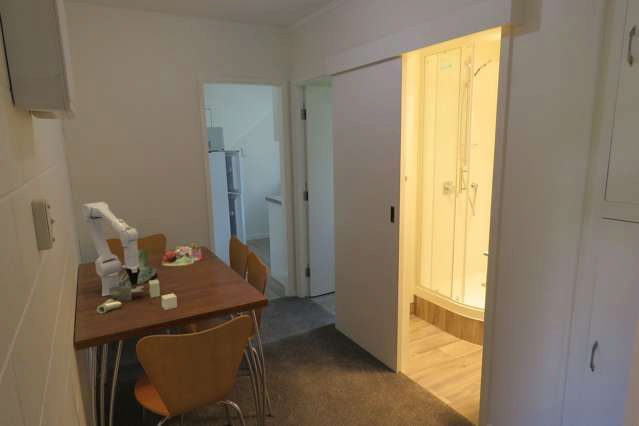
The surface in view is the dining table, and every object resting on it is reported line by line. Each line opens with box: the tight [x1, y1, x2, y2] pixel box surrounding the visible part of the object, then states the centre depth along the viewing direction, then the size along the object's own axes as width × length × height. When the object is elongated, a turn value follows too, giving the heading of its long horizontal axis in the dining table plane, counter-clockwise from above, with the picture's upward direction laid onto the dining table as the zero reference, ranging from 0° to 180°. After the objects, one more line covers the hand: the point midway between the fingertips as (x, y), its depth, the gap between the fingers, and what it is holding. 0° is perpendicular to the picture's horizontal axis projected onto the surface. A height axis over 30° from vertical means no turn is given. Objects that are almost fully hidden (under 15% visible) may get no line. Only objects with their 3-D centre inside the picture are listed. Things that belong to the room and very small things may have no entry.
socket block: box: [148, 279, 161, 298], centre depth 184 cm, size 6×4×6 cm, turn 29°
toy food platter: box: [161, 243, 203, 267], centre depth 243 cm, size 25×24×9 cm
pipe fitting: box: [96, 298, 122, 315], centre depth 167 cm, size 8×4×7 cm
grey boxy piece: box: [109, 285, 133, 304], centre depth 177 cm, size 5×8×6 cm, turn 119°
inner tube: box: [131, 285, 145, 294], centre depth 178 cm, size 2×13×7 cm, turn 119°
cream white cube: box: [160, 293, 178, 311], centre depth 169 cm, size 5×5×5 cm
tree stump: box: [118, 248, 158, 287], centre depth 207 cm, size 19×21×19 cm
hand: (133, 283), depth 179 cm, fingers closed on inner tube, 2 cm apart
